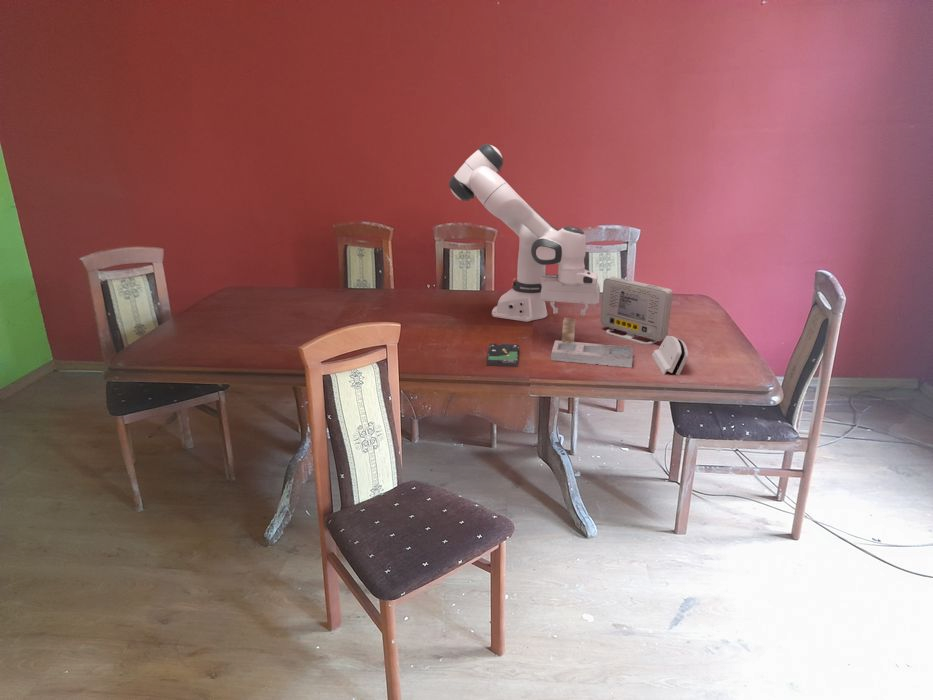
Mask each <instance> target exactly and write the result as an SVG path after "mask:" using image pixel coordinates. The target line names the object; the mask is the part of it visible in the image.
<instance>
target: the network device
mask: <svg viewBox="0 0 933 700" xmlns="http://www.w3.org/2000/svg"><path fill="white" fill-rule="evenodd" d="M673 297H674V292H673V290H672V289H671V288H667V287H662V286H657V285H655V284H654V285H653V284H649V283H644V282H639V281H635V280H629V279H625V278H621V277H616V276H611V277H607V278H604V280H603V287H602V297H601V308H600V319H599V321H600V324H601V325H602V326H604V327H607V329H606V330H605V334H607V333H608V334H610V335H609V336H611V335H614V336H613V337H615V336H616V337H615V338H618V337H619V338H618V339H622V338H623V339H622V340H626V341H629V340H630V342H632V341H633V343H635V342H636V344H639V343H640V345H642V344H644V345H643V346H651V344H652V345H654V344H656V343H658V342H661V341H663V340H664V339H665V337H666V336H669V335H668V334H669V327H670V319H671V312H672V304H673ZM614 329H616V330H619V331H621V332H624V333H625V332H626V334H625V335H620V334H617V333H613V331H615V330H614ZM612 330H613V331H612ZM609 331H611V332H609ZM608 334H607V335H608ZM637 337H643V338H645V339H646V338H647V339H650V341H647V342H646V341H641V340H637V339H635V338H637ZM632 338H633V339H632ZM657 341H658V342H657Z"/></svg>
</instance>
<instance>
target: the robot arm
mask: <svg viewBox="0 0 933 700" xmlns="http://www.w3.org/2000/svg"><path fill="white" fill-rule="evenodd" d="M503 166H504V158H503V155H502V153H501V151H500V150H499V149H498V148H497V147H495V146H494V145H491V144H490V143H484V144H482V145H481V146H480V147H478V149H477V150H476V151H474V153H472V154H471V155H470V156H469V157H468V158H467V159H466V160H464V163H462V165H461V166H460V167H459V168H458V170H457V171H456V172H455V174H453V175H452V176H451V177H450V179H449V181H448V187H449V189H450V191H451V193H452V194H453V196H454V197H455V198H457V199H458V200H460V201H462V202H468V201H471V200H472V199H474V198H475V197H476V198H477V200H478V201H479V202H480V203H481V204H482V205H483V207H484V208H485V209H486V210H487V211H488V212H489V213H490V214H491V215H493V216H494V217H495V218H497V219H500V221H502V222H503V223H504V224H505V225H506V226H507V227H509V228H510V230H511V231H513V233H515V234H516V235H517V236H518V237H519V243H518V244H519V246H518V256H517V272H516V273H517V275H516V277H514V278H513V279H512V281H511V289H509V290H508V291H507V292H505V293H503V294H502V295H501V296H500V298H499V299H498V301H497V305H496V306H494V307H493V309H491V316H492V317H494V318H500V319H507V320H514V321H521V322H527V323H528V322H531V321H535V320H541V319H544V318H546V317H548V311H547V310H548V309H547V306H546V302H550V307H551V308H552V310H553V311H552V313H553V314H555V315H557V314H558V313H559V307H556V306H555V304H556V303H570V304H571V303H572V304H584V308H583V309H580V316H584V317H585V316H586V311H587V309H589V307H590V305H598V304H599V303H600V301H601V290H600V289H601V288H600V284H599V282H598V274H597V273H595V272H593V271H590V270H588V269H586V268H585V267H586V265H585V257H586V251H587V250H586V249H587V248H586V247H587V242H586V241H587V240H586V239H587V238H586V235H585V232H584V230H582V229H581V228H578V227H574V226H569V225H568V226H563V227H562V228H560V229H559V228H556V227H554V226H553V225H551V223H549V222H548V221H547V220H546V219H545V218H544V217H543V216H542V215H541V214H540V213H538V211H536V210H535V208H533V207H532V206H531V205H529V203H527V202H526V201H525V200H524V199H523V198H522V197H521V196H520V195H519V194H518V193H517V192H516V191H515V190H514V188H513V187H512V186H511V185H509V183H508V182H507V181H506V180H505V179H504V178H503V177H502V176H501V175H500V174H499V173H497V172H500V173H501V172H502V169H503ZM555 264H556V265H558V268H557V274H548V273H546V270H547V269H546V268H547V267H546V266H549V265H555Z"/></svg>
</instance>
